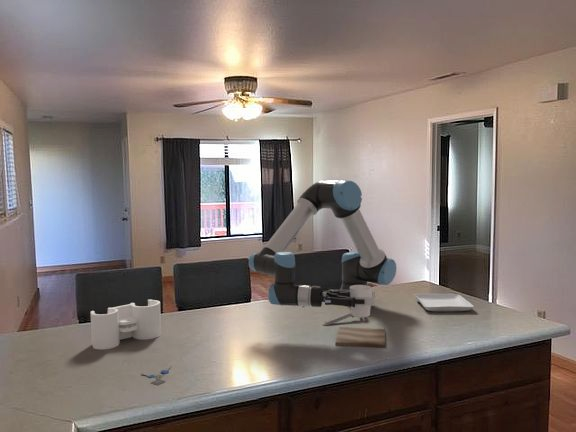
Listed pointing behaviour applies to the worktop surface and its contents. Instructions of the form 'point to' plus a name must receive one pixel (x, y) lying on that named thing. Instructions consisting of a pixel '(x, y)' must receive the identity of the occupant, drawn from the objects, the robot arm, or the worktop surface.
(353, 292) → the white cup
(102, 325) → the bracket
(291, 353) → the worktop surface
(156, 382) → the key chain
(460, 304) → the salad plate
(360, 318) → the caliper
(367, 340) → the walnut board
